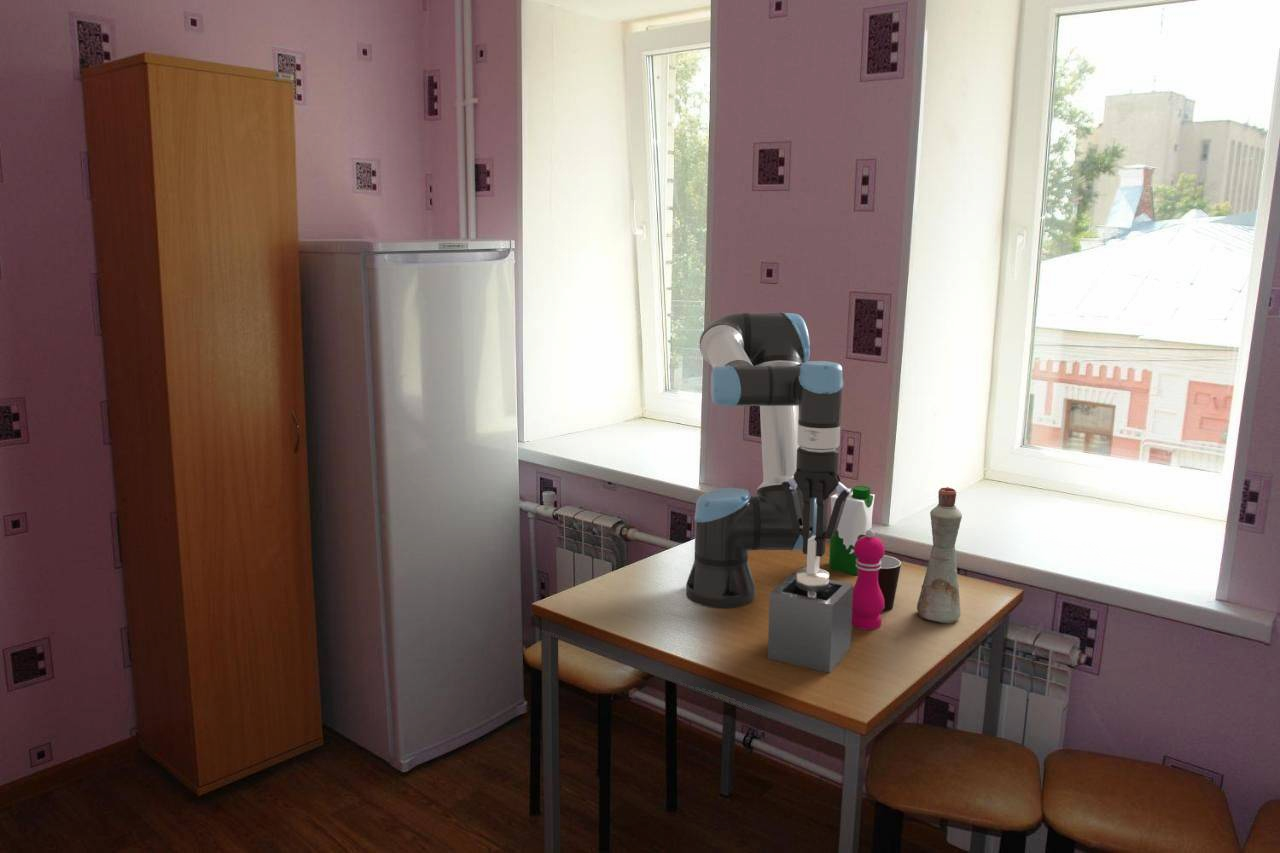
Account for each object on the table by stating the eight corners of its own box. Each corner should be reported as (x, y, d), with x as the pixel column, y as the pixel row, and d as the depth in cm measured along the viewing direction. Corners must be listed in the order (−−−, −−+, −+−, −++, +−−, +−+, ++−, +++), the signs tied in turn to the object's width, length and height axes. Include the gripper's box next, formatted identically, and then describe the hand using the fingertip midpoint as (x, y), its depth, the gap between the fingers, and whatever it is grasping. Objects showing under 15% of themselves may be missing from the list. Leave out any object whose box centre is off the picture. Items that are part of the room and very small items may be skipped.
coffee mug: (899, 615, 196) (902, 569, 194) (857, 611, 198) (859, 566, 196) (896, 594, 208) (898, 551, 206) (856, 591, 209) (858, 548, 207)
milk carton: (859, 577, 218) (863, 494, 214) (823, 569, 223) (827, 487, 219) (874, 567, 225) (878, 485, 221) (838, 559, 230) (842, 479, 226)
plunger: (781, 650, 177) (784, 575, 174) (797, 634, 184) (800, 562, 181) (822, 659, 173) (826, 583, 170) (837, 643, 180) (840, 570, 177)
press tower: (767, 658, 176) (769, 592, 174) (791, 635, 187) (793, 572, 184) (829, 673, 170) (832, 605, 168) (850, 648, 181) (853, 584, 178)
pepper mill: (844, 616, 196) (848, 523, 192) (879, 616, 196) (884, 524, 192) (850, 630, 189) (855, 535, 185) (887, 631, 189) (892, 535, 185)
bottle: (910, 620, 194) (919, 488, 189) (922, 605, 202) (931, 478, 196) (953, 629, 190) (963, 494, 184) (964, 614, 197) (974, 484, 192)
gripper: (776, 447, 171) (772, 571, 175) (846, 456, 164) (840, 584, 169) (791, 439, 177) (787, 559, 182) (859, 447, 171) (853, 571, 175)
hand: (812, 571), depth 175 cm, fingers closed
